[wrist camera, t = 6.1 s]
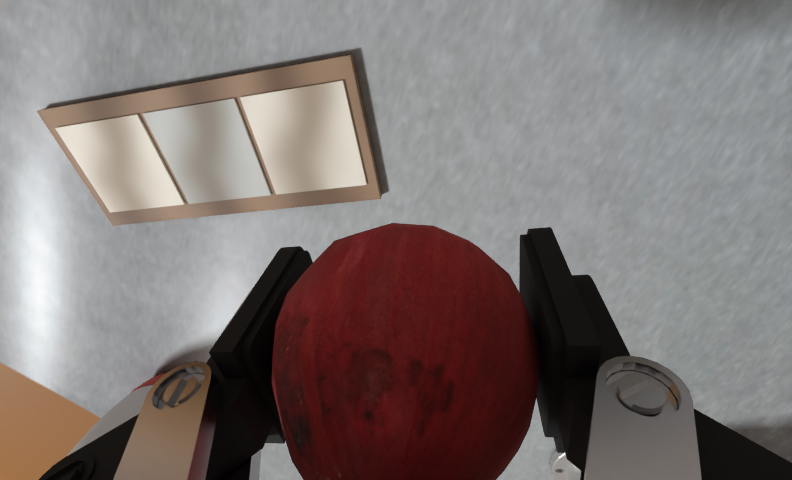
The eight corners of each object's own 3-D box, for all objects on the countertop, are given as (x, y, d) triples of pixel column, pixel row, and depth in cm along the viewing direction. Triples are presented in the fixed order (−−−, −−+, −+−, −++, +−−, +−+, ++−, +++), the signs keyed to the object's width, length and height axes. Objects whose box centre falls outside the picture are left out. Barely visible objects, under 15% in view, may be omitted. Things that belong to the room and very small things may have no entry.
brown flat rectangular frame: (352, 53, 21) (349, 55, 21) (381, 194, 26) (380, 199, 26) (44, 108, 26) (34, 111, 25) (118, 221, 30) (111, 226, 30)
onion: (293, 258, 12) (105, 565, 6) (406, 127, 10) (299, 428, 3) (424, 348, 14) (398, 673, 7) (554, 259, 11) (709, 653, 4)
